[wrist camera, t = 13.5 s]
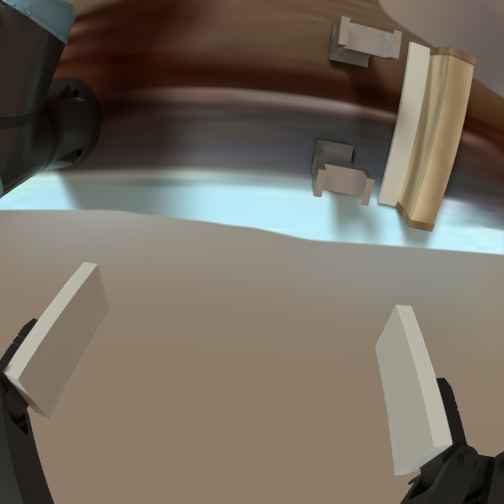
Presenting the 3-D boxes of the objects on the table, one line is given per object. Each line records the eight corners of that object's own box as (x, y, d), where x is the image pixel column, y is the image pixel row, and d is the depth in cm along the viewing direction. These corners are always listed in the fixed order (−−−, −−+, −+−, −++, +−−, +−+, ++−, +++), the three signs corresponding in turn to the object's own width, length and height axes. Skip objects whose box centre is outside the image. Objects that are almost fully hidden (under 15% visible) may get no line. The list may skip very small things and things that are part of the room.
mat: (377, 201, 43) (378, 202, 42) (409, 42, 30) (410, 41, 29) (433, 213, 42) (434, 215, 42) (469, 66, 29) (471, 66, 29)
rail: (395, 207, 42) (408, 226, 37) (430, 48, 29) (450, 46, 24) (417, 211, 42) (431, 231, 37) (453, 57, 29) (475, 58, 24)
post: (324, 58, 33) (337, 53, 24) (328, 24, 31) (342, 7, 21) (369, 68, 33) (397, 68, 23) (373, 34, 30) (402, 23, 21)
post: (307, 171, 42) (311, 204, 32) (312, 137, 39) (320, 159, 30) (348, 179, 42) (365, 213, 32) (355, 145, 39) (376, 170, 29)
